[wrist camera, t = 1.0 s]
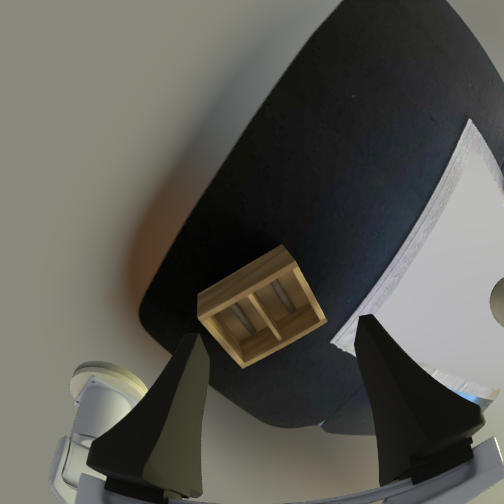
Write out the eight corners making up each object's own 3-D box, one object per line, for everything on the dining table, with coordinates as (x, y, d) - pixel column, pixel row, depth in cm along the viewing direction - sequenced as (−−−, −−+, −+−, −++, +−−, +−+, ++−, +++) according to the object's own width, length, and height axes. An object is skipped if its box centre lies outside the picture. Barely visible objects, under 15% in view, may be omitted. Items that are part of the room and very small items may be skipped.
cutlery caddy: (197, 293, 28) (197, 317, 24) (282, 243, 28) (295, 260, 24) (237, 343, 31) (242, 368, 27) (313, 300, 31) (327, 321, 27)
